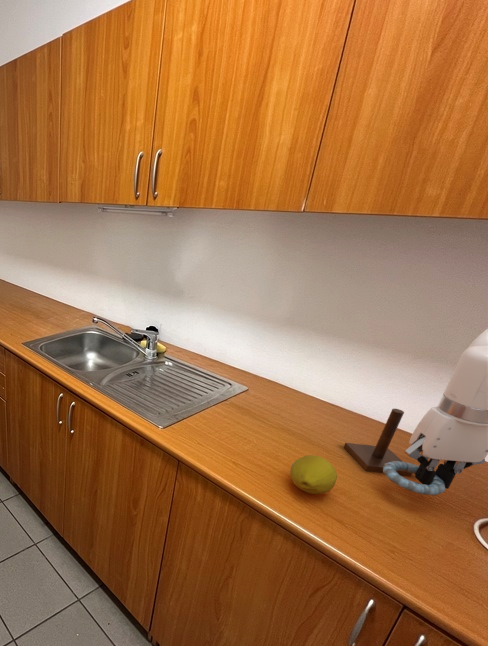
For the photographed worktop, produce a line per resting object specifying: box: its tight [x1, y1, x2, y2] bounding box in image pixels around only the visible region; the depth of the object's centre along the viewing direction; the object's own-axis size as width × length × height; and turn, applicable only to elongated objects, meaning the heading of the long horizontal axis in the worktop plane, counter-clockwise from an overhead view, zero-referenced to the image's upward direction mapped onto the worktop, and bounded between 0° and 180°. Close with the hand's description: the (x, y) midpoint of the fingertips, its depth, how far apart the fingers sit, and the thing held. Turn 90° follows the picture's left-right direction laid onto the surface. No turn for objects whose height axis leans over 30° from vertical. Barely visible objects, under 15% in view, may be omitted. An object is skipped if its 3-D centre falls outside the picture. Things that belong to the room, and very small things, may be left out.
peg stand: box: [343, 408, 413, 477], centre depth 94 cm, size 9×9×14 cm
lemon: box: [289, 454, 338, 495], centre depth 87 cm, size 11×8×8 cm
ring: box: [382, 461, 446, 497], centre depth 84 cm, size 9×9×2 cm
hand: (430, 482), depth 83 cm, fingers closed on ring, 2 cm apart
